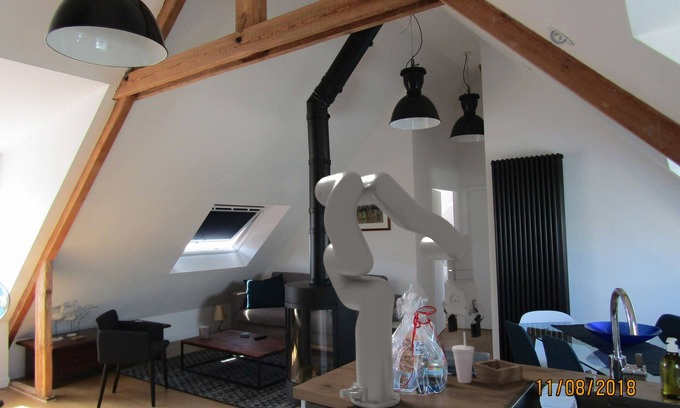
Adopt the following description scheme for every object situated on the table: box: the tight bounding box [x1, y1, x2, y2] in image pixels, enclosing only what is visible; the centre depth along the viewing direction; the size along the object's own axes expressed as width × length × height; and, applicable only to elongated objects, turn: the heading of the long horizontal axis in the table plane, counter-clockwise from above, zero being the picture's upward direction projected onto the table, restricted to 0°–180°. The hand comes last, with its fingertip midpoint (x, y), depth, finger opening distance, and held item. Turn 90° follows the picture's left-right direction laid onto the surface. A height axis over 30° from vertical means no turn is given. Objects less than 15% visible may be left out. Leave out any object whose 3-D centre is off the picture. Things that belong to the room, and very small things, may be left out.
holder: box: [472, 358, 524, 386], centre depth 138 cm, size 10×10×4 cm
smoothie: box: [451, 331, 475, 384], centre depth 137 cm, size 6×6×14 cm
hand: (464, 334), depth 138 cm, fingers open, 9 cm apart
